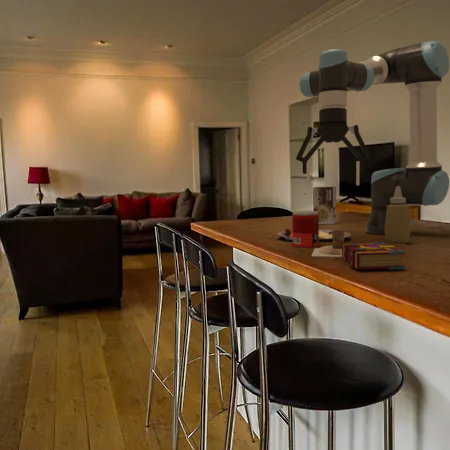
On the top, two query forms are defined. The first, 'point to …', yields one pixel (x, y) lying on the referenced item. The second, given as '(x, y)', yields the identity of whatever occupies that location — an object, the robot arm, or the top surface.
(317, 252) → the mat
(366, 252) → the decorative book
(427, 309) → the top surface
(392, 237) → the squeeze bottle
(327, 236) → the food plate
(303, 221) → the canned food
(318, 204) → the coffee box
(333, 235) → the lid
